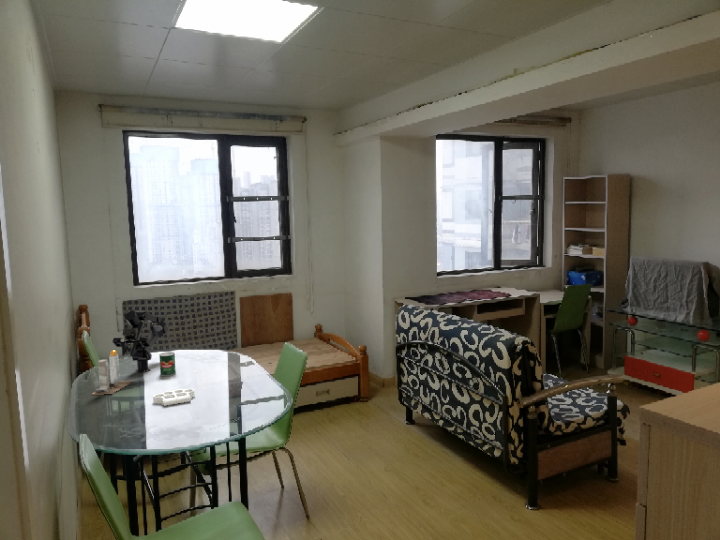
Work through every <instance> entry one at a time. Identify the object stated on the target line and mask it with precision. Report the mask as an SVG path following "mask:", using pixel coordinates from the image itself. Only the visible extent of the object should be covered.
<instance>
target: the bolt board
mask: <svg viewBox="0 0 720 540" xmlns="http://www.w3.org/2000/svg"><path fill="white" fill-rule="evenodd" d="M97 366H98V380H99V381H98V383H99V387H98V388H96V389H94V392H92V393H91V395H92V396H102V395H103V396H104V394H113V393H114V394H116V393H117V392H116V391H118V390H119V391H121V390H123V389H124V388H125V386H126V387H128V386H129V385H131V384H132V383H134V380H120V382H119V383H117V384H111V385H109V381H110V379H109V378H110V377H109V375H110V374H109V363H108V359H100V360H98V361H97ZM130 383H131V384H130ZM120 389H121V390H120ZM119 391H118V392H119ZM115 392H116V393H115ZM114 394H113V395H114Z"/></svg>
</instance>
